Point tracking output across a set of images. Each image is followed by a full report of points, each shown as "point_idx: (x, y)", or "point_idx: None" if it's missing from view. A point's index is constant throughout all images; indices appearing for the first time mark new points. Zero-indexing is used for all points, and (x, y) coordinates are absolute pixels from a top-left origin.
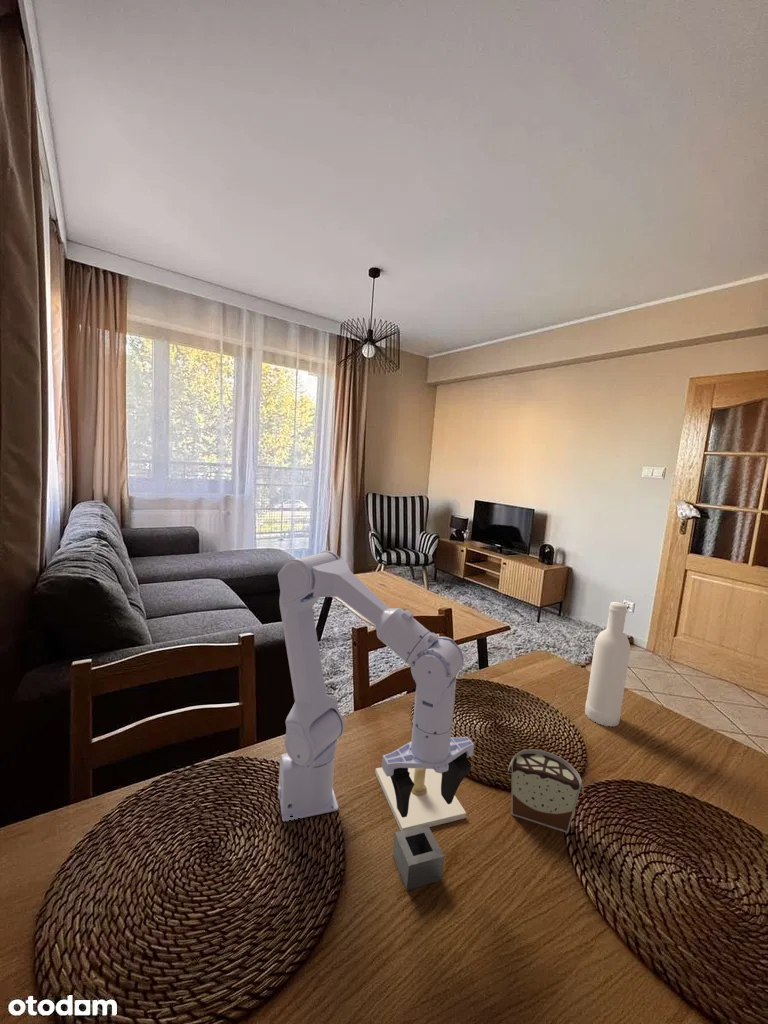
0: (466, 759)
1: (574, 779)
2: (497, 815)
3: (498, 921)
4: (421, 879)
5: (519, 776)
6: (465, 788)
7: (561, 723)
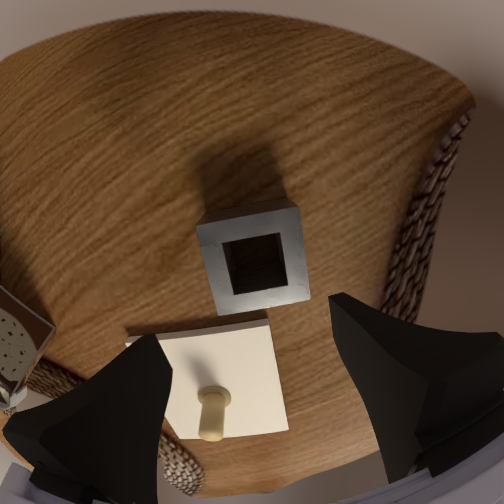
0: (31, 463)
1: None
2: (75, 331)
3: (119, 130)
4: (255, 205)
5: (11, 370)
6: None
7: None
